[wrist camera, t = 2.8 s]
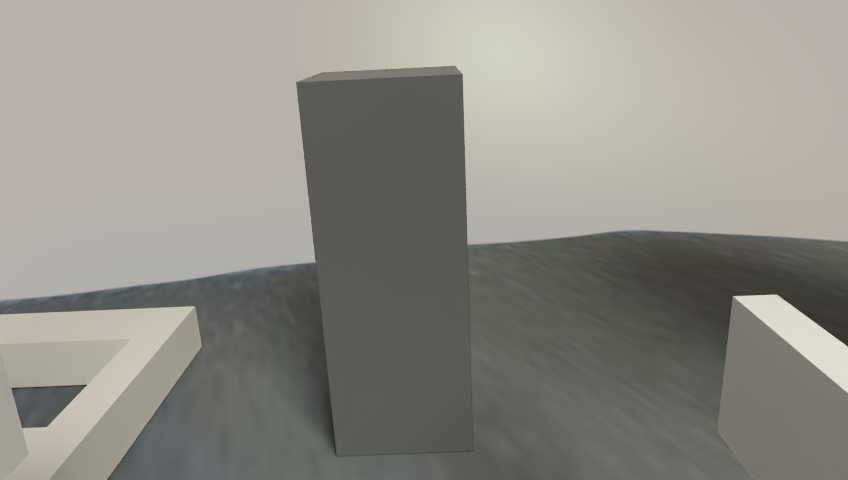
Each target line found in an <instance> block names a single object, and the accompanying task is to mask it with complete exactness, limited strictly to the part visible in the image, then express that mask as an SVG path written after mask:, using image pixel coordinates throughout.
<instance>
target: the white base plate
mask: <svg viewBox="0 0 848 480" xmlns="http://www.w3.org/2000/svg"><path fill="white" fill-rule="evenodd" d="M201 347H202V344H201V338H200V333H199V327H198V321H197V315H196V309H195V306H191V307H167V308H144V309H120V310H97V311H73V312H50V313H26V314H3V315H0V350H1V353H2V357H3V361H4V364H5V368H6V372H7V375H8V379H9V383H10V386H11V388H19V387H44V386H68V385H87V386H86V387H85V388H84V389H83V390H82V391H81V392H80V393H79V394H78V395H77V396H76V397H75V398H74V399H73V400H72V402H71V403H70V404H69V405H68V406H67V407H66V408H65V409H64V410H63V411H62V412H61V413H60V414H59V415H58V416H57V417H56V418H55V419H54V420H53V421H52V422H51V423H50V424H49V425H48V427H40V428H22V430H23V434H24V438H25V441H26V445H27V449H28V452H29V455H28V456H27V457H26V458H25V459H24V460H23V461H22V462H21V463H20V464H19V465H18V466H17V467H16V468H15V470H14V471H13V472H12V473H11V474H10V475H9V476H8V477H7V478H6V479H5V480H107V479H108V478H109V476H110V475H111V474H112V472H113V471H114V469H115V468H116V467H117V465H118V464H119V462H120V461H121V460H122V458H123V457H124V455H125V454H126V453H127V451H128V450H129V448H130V447H131V446H132V444H133V443H134V441H135V440H136V439H137V437H138V436H139V434H140V433H141V432H142V430H143V429H144V427H145V426H146V424H147V423H148V422H149V420H150V419H151V417H152V416H153V415H154V413H155V412H156V410H157V409H158V408H159V406H160V405H161V403H162V402H163V401H164V399H165V398H166V396H167V395H168V394H169V392H170V391H171V389H172V388H173V387H174V385H175V384H176V382H177V381H178V380H179V378H180V377H181V375H182V374H183V373H184V371H185V370H186V368H187V367H188V366H189V364H190V363H191V361H192V360H193V358H194V357H195V356H196V354H197V353H198V351H199V350H200V349H201Z"/></svg>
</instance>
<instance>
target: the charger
mask: <svg viewBox="0 0 848 480" xmlns="http://www.w3.org/2000/svg"><path fill="white" fill-rule="evenodd" d="M296 84H297V93H298V103H299V112H300V120H301V130H302V140H303V149H304V158H305V168H306V176H307V185H308V195H309V204H310V213H311V223H312V232H313V241H314V251H315V260H316V269H317V279H318V288H319V297H320V306H321V316H322V325H323V334H324V343H325V353H326V362H327V371H328V380H329V390H330V399H331V408H332V417H333V427H334V436H335V445H336V454H337V456H356V455H381V454H406V453H431V452H456V451H473V423H472V388H471V354H470V319H469V284H468V249H467V216H466V181H465V145H464V111H463V76H462V73H461V72H460V71H459V70H458V69H457V68H456V67H455V66H444V67H426V68H425V67H424V68H404V69H384V70H365V71H344V72H326V73H325V72H324V73H320V74H317V75H315V76H312V77H309V78H307V79H304V80H301V81H299V82H296Z"/></svg>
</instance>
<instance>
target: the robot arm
mask: <svg viewBox="0 0 848 480" xmlns="http://www.w3.org/2000/svg"><path fill="white" fill-rule="evenodd" d="M717 432H718V433H719V434H720V436H721V437H722V438H723V440H724V441H725V443H726V444H727V445H728V447H729V448H730V449H731V451H732V452H733V453H734V455H735V456H736V457H737V459H738V460H739V461H740V463H741V464H742V466H743V467H744V468H745V470H746V471H747V472H748V474H749V475H750V476H751V478H752V479H753V480H848V346H846V345H845V344H843V343H842V342H841V341H839V340H838V339H837V338H835V337H834V336H833V335H831V334H830V333H828V332H827V331H826V330H824V329H823V328H822V327H820V326H819V325H818V324H816V323H815V322H813V321H812V320H811V319H809V318H808V317H807V316H805V315H804V314H803V313H801V312H800V311H798V310H797V309H796V308H794V307H793V306H792V305H790V304H789V303H788V302H786V301H785V300H783V299H782V298H781V297H779V296H778V295H754V296H733V300H732V308H731V317H730V325H729V334H728V342H727V351H726V359H725V368H724V376H723V385H722V393H721V402H720V411H719V419H718V428H717ZM28 455H29V452H28V449H27V445H26V441H25V438H24V434H23V430H22V427H21V423H20V419H19V416H18V412H17V408H16V405H15V401H14V397H13V394H12V390H11V386H10V383H9V379H8V375H7V372H6V368H5V364H4V361H3V357H2V353H1V350H0V480H5V479H6V478H7V477H8V476H9V475H10V474H11V473H12V472H13V471H14V470H15V468H16V467H17V466H18V465H19V464H20V463H21V462H22V461H23V460H24V459H25V458H26V457H27V456H28Z"/></svg>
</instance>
